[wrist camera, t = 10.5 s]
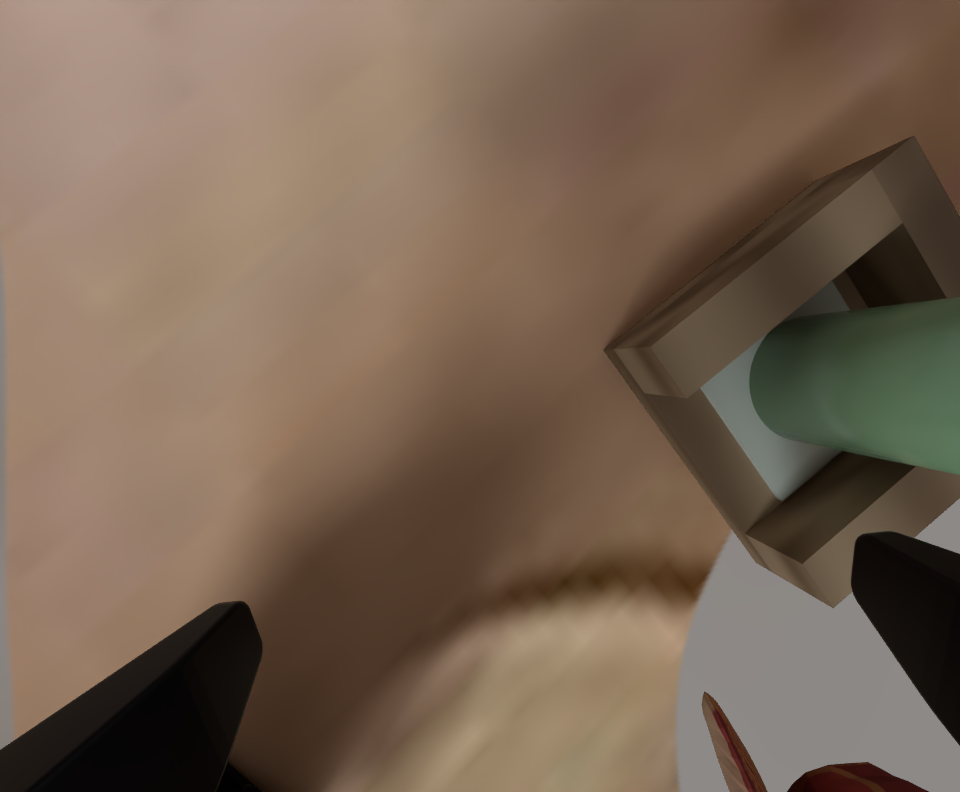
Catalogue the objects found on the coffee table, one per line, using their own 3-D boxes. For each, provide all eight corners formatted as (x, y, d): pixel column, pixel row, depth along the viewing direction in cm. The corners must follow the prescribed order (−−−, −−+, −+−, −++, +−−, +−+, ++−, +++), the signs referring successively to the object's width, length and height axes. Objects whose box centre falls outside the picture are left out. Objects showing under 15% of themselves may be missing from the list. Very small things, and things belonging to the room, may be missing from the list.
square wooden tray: (756, 562, 21) (833, 608, 17) (603, 350, 20) (650, 346, 16) (949, 397, 22) (1066, 405, 18) (817, 179, 20) (913, 135, 16)
